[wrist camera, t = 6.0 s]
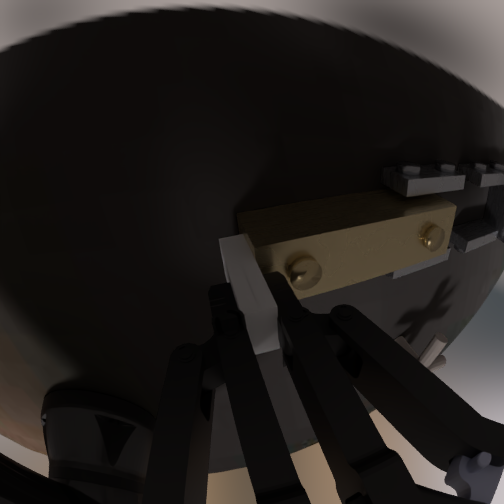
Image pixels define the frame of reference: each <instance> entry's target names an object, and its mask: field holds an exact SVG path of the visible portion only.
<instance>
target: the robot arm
mask: <svg viewBox="0 0 504 504" xmlns="http://www.w3.org/2000/svg"><path fill="white" fill-rule="evenodd" d="M219 244H220V249H221V255H222V260H223V265H224V271H225V276H226V280H227V283H224V284H219V285H215V286H211V288H210V290H209V293H208V295H209V301H210V306H211V311H212V316H213V318H212V325H213V328H214V335H213V336H212V338H211V339H210V340H209V341H207V342H206V343H204V344H202V345H200V346H197V345H195V344H190V343H187V344H182V345H180V346H178V347H177V348H176V349H175V350H173V352H172V354H171V357H170V361H169V365H168V370H167V374H166V378H165V383H164V387H163V391H162V396H161V400H160V405H159V410H158V414H157V419H155V418H154V417H153V416H152V415H151V414H149V413H148V412H146V411H145V410H143V409H142V408H140V407H138V406H136V405H134V404H131V403H129V402H127V401H124V400H121V399H118V398H115V397H112V396H108V395H104V394H100V393H95V392H90V391H83V390H59V391H55V392H52V393H50V394H48V395H47V396H46V397H45V398H44V401H43V405H42V410H41V423H42V426H43V434H44V440H45V445H46V450H47V454H48V459H49V478H47V477H45V476H43V475H41V474H39V473H37V472H35V471H33V470H31V469H29V468H27V467H25V466H23V465H21V464H19V463H17V462H15V461H14V460H12V459H10V458H8V457H7V456H5V455H3V454H2V453H0V504H206V496H207V482H208V469H209V456H210V444H211V432H212V421H213V409H214V399H215V388H216V387H218V386H220V385H222V384H224V383H226V386H227V391H228V395H229V399H230V403H231V408H232V412H233V416H234V420H235V424H236V428H237V432H238V436H239V439H240V443H241V447H242V451H243V454H244V458H245V462H246V465H247V469H248V472H249V476H250V479H251V483H252V486H253V489H254V493H255V496H256V502H257V504H311V503H310V500H309V498H308V496H307V493H306V491H305V489H304V488H303V486H302V485H301V482H300V480H299V478H298V475H297V472H296V470H295V467H294V464H293V461H292V459H291V456H290V453H289V451H288V448H287V445H286V442H285V440H284V437H283V434H282V431H281V428H280V426H279V423H278V420H277V417H276V414H275V411H274V409H273V406H272V403H271V400H270V397H269V394H268V391H267V388H266V385H265V382H264V379H263V377H262V374H261V371H260V368H259V365H258V362H257V359H256V356H255V355H256V354H260V353H264V352H268V351H272V350H276V349H279V348H280V347H279V343H280V345H281V347H282V351H283V367H284V366H286V365H287V368H288V370H289V373H290V375H291V378H292V380H293V382H294V385H295V387H296V390H297V392H298V394H299V397H300V399H301V401H302V404H303V406H304V409H305V411H306V413H307V416H308V418H309V420H310V423H311V425H312V428H313V430H314V432H315V435H316V437H317V439H318V442H319V444H320V446H321V449H322V451H323V453H324V456H325V458H326V460H327V462H328V465H329V467H330V470H331V472H332V474H333V477H334V479H335V482H336V489H337V493H338V495H339V498H340V500H341V502H342V504H490V503H491V501H492V499H493V496H494V494H495V491H496V489H497V486H498V483H499V481H500V478H501V475H502V472H503V469H504V424H501V423H498V422H495V421H493V420H489V419H487V418H484V417H482V416H481V415H480V414H479V413H478V412H477V411H475V410H474V409H473V408H472V407H471V406H470V405H469V404H468V403H466V402H465V401H464V400H463V399H462V398H461V397H459V395H457V394H456V393H455V392H454V391H453V390H452V389H451V388H449V387H448V386H447V385H446V384H445V383H444V382H443V381H441V380H440V379H439V378H438V377H437V376H436V375H435V374H433V373H432V372H431V371H430V370H429V369H428V368H426V367H425V366H424V365H423V364H422V363H421V362H419V361H418V360H417V359H416V358H415V357H414V356H412V355H411V354H410V353H409V352H408V351H406V350H405V349H404V348H403V347H402V346H401V345H399V344H398V343H397V342H396V341H395V340H393V339H392V338H391V337H390V336H389V335H387V334H386V333H385V332H384V331H383V330H381V329H380V328H379V327H378V326H377V325H375V324H374V323H373V322H372V321H371V320H369V319H368V318H367V317H366V316H365V315H363V314H362V313H361V312H360V311H359V310H357V309H356V308H354V307H353V306H351V305H346V304H343V305H338V306H335V307H334V308H333V309H332V310H331V312H330V314H314V313H311V312H310V311H309V310H308V309H306V308H304V307H302V306H301V304H300V302H299V300H298V299H297V297H296V295H295V293H294V292H293V290H292V288H291V286H290V285H289V283H288V281H287V279H286V278H285V276H284V275H283V274H281V273H280V272H278V271H275V272H270V273H266V274H262V273H261V271H260V268H259V266H258V264H257V262H256V260H255V258H254V256H253V254H252V252H251V249H250V247H249V245H248V243H247V241H246V239H245V237H244V235H243V234H240V235H235V236H230V237H225V238H221V239H219ZM353 386H354V387H355V388H356V389H357V390H358V391H359V392H360V393H361V394H362V395H363V396H364V397H365V398H366V399H367V400H368V401H369V402H370V403H371V404H372V405H373V406H374V407H375V408H376V409H377V410H378V411H379V412H380V413H381V414H382V415H383V416H384V417H385V418H386V419H387V420H388V421H389V422H390V423H391V424H392V426H394V428H395V429H396V430H397V431H398V432H399V433H400V434H402V436H403V437H404V438H405V439H406V440H407V441H408V442H409V443H410V444H411V445H412V446H413V447H415V448H416V450H417V451H419V453H420V454H421V455H422V456H423V457H425V458H426V459H427V460H428V461H429V462H430V463H432V464H433V465H434V466H436V467H437V468H439V469H441V470H443V471H445V472H447V475H446V476H445V483H446V485H449V486H451V487H452V488H453V489H455V490H456V492H457V496H454V495H450V494H446V493H443V492H440V491H436V490H433V489H430V488H427V487H424V486H421V485H418V484H415V482H414V480H413V479H412V477H411V475H410V473H409V471H408V470H407V468H406V466H405V464H404V462H403V460H402V458H401V457H400V455H399V454H398V453H397V452H396V451H394V450H392V449H389V448H388V447H387V446H386V444H385V443H384V441H383V439H382V437H381V435H380V434H379V432H378V430H377V428H376V427H375V424H374V423H373V421H372V419H371V417H370V415H369V414H368V412H367V410H366V408H365V406H364V405H363V403H362V401H361V399H360V397H359V396H358V394H357V392H356V390H355V388H354V387H353Z"/></svg>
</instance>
